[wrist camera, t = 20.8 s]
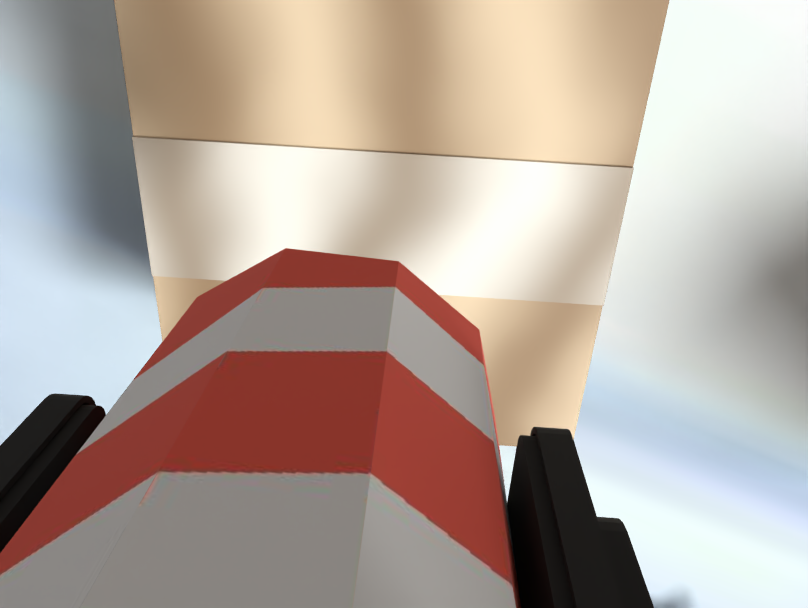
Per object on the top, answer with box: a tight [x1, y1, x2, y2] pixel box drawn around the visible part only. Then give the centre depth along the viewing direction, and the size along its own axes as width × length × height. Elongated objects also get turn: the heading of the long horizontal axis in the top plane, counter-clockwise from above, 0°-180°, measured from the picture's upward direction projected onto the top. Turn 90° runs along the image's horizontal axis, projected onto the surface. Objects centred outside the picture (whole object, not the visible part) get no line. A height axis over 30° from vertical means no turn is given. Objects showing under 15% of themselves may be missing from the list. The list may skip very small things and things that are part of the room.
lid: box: [114, 0, 669, 446], centre depth 22 cm, size 16×18×1 cm
